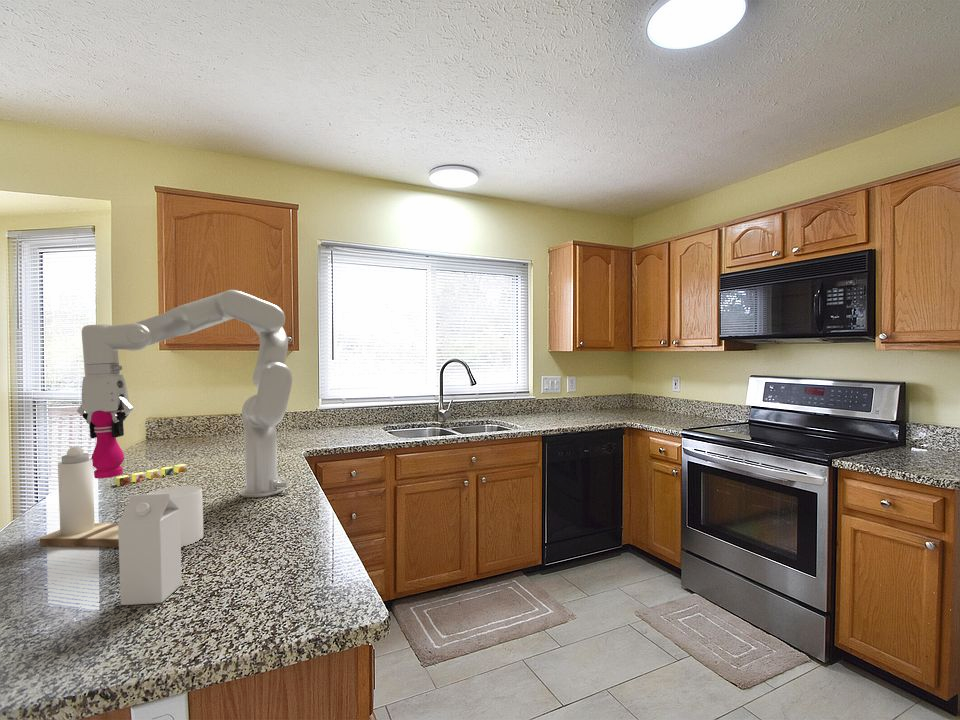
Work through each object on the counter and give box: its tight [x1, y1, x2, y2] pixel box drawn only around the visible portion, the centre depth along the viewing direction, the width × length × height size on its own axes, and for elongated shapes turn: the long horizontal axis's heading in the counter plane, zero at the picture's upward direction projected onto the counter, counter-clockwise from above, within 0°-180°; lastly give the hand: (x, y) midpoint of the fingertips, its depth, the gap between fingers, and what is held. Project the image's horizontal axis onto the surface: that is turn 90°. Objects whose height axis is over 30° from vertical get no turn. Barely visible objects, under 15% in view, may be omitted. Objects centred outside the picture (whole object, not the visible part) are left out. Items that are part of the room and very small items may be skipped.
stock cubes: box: [114, 463, 188, 487], centre depth 181 cm, size 32×32×3 cm
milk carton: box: [117, 493, 183, 606], centre depth 93 cm, size 7×7×19 cm
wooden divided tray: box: [39, 522, 119, 548], centre depth 122 cm, size 22×10×2 cm, turn 86°
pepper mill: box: [90, 410, 125, 480], centre depth 134 cm, size 7×7×20 cm
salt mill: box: [57, 445, 96, 535], centre depth 122 cm, size 7×7×21 cm
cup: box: [147, 484, 204, 548], centre depth 120 cm, size 12×12×12 cm
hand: (107, 436), depth 135 cm, fingers closed on pepper mill, 5 cm apart
